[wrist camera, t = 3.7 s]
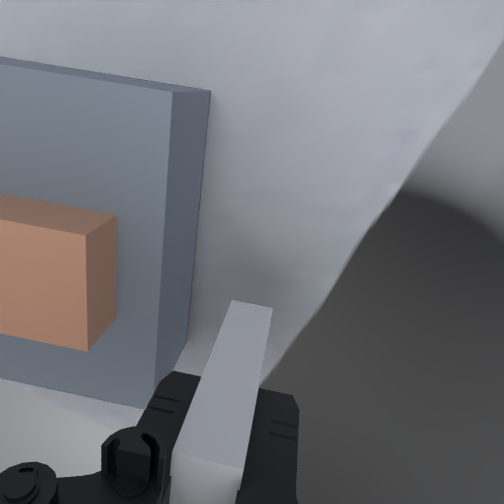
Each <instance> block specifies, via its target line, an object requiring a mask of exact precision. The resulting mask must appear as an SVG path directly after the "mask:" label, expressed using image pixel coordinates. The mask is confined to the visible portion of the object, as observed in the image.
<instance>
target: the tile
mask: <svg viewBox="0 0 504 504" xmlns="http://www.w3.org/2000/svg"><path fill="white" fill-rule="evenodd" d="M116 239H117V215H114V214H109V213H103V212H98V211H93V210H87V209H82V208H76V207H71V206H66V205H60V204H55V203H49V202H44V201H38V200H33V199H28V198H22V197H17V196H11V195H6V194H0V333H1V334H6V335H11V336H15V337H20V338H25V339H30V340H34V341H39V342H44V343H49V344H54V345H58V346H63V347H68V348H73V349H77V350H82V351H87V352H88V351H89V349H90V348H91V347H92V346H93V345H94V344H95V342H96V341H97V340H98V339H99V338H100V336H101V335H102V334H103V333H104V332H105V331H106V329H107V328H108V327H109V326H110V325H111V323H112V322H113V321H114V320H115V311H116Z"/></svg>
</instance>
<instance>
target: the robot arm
mask: <svg viewBox="0 0 504 504" xmlns="http://www.w3.org/2000/svg"><path fill="white" fill-rule="evenodd" d="M272 313H273V308H270V307H265V306H260V305H255V304H250V303H245V302H240V301H235V300H231V303H230V305H229V308H228V310H227V313H226V315H225V318H224V321H223V323H222V326H221V328H220V331H219V333H218V336H217V339H216V341H215V344H214V346H213V349H212V351H211V354H210V356H209V359H208V362H207V364H206V367H205V369H204V372H203V374H202V377H200V376H195V375H191V374H186V373H181V372H177V371H172V372H171V373H170V374H168V375H167V376H166V377H165V378H163V379H162V380H161V381H160V382H159V384H158V386H157V388H156V390H155V392H154V394H153V397H151V399H150V401H149V403H148V405H147V408H146V409H145V411H144V413H143V414H142V416H141V418H140V420H139V422H138V424H137V426H136V427H134V426H133V427H129V428H125V429H121V430H119V431H117V432H115V433H114V434H112V435H110V436H109V437H108V438H107V439H106V441H105V442H104V443H103V444H102V446H101V457H102V458H101V471H99V472H96V473H94V474H90V475H84V476H75V477H63V478H56V474H55V472H54V471H53V470H52V469H51V468H50V467H49V466H48V465H46V464H42V463H39V462H27V463H21V464H18V465H15V466H12V467H10V468H8V469H6V470H5V471H3V472H2V473H0V504H298V502H297V499H296V473H297V450H298V449H297V448H298V426H299V408H298V406H297V404H296V402H295V400H294V397H293V395H289V394H284V393H280V392H275V391H270V390H265V389H261V388H259V383H260V378H261V372H262V367H263V362H264V356H265V351H266V345H267V340H268V334H269V329H270V324H271V318H272Z"/></svg>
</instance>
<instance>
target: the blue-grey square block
mask: <svg viewBox="0 0 504 504" xmlns="http://www.w3.org/2000/svg"><path fill="white" fill-rule="evenodd" d="M210 93H211V91H209V90H203V89H197V88H191V87H184V86H178V85H172V84H166V83H159V82H153V81H147V80H141V79H135V78H128V77H122V76H116V75H110V74H103V73H97V72H91V71H85V70H78V69H72V68H66V67H60V66H54V65H47V64H41V63H35V62H29V61H22V60H16V59H10V58H4V57H0V194H6V195H11V196H17V197H22V198H28V199H33V200H38V201H44V202H49V203H55V204H60V205H66V206H71V207H76V208H82V209H87V210H93V211H98V212H103V213H109V214H114V215H117V239H116V311H115V320H114V321H113V322H112V323H111V325H110V326H109V327H108V328H107V329H106V331H105V332H104V333H103V334H102V335H101V336H100V338H99V339H98V340H97V341H96V342H95V344H94V345H93V346H92V347H91V348H90V349H89V351H88V352H87V351H82V350H77V349H73V348H68V347H63V346H58V345H54V344H49V343H44V342H39V341H34V340H30V339H25V338H20V337H15V336H11V335H6V334H1V333H0V378H3V379H7V380H12V381H17V382H21V383H26V384H30V385H35V386H40V387H44V388H49V389H53V390H58V391H63V392H67V393H72V394H76V395H81V396H86V397H90V398H95V399H99V400H104V401H109V402H113V403H118V404H122V405H127V406H132V407H136V408H141V409H146V408H147V405H148V403H149V401H150V399H151V397H153V394H154V392H155V390H156V388H157V386H158V384H159V382H160V381H161V380H162V379H163V378H165V377H166V376H167V375H168V374H170V373H171V372H172V370H173V368H174V366H175V364H176V362H177V360H178V358H179V356H180V354H181V352H182V350H183V348H184V346H185V344H186V340H187V330H188V319H189V309H190V299H191V288H192V278H193V268H194V258H195V247H196V237H197V227H198V216H199V206H200V196H201V185H202V175H203V165H204V154H205V144H206V134H207V124H208V113H209V103H210Z"/></svg>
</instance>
